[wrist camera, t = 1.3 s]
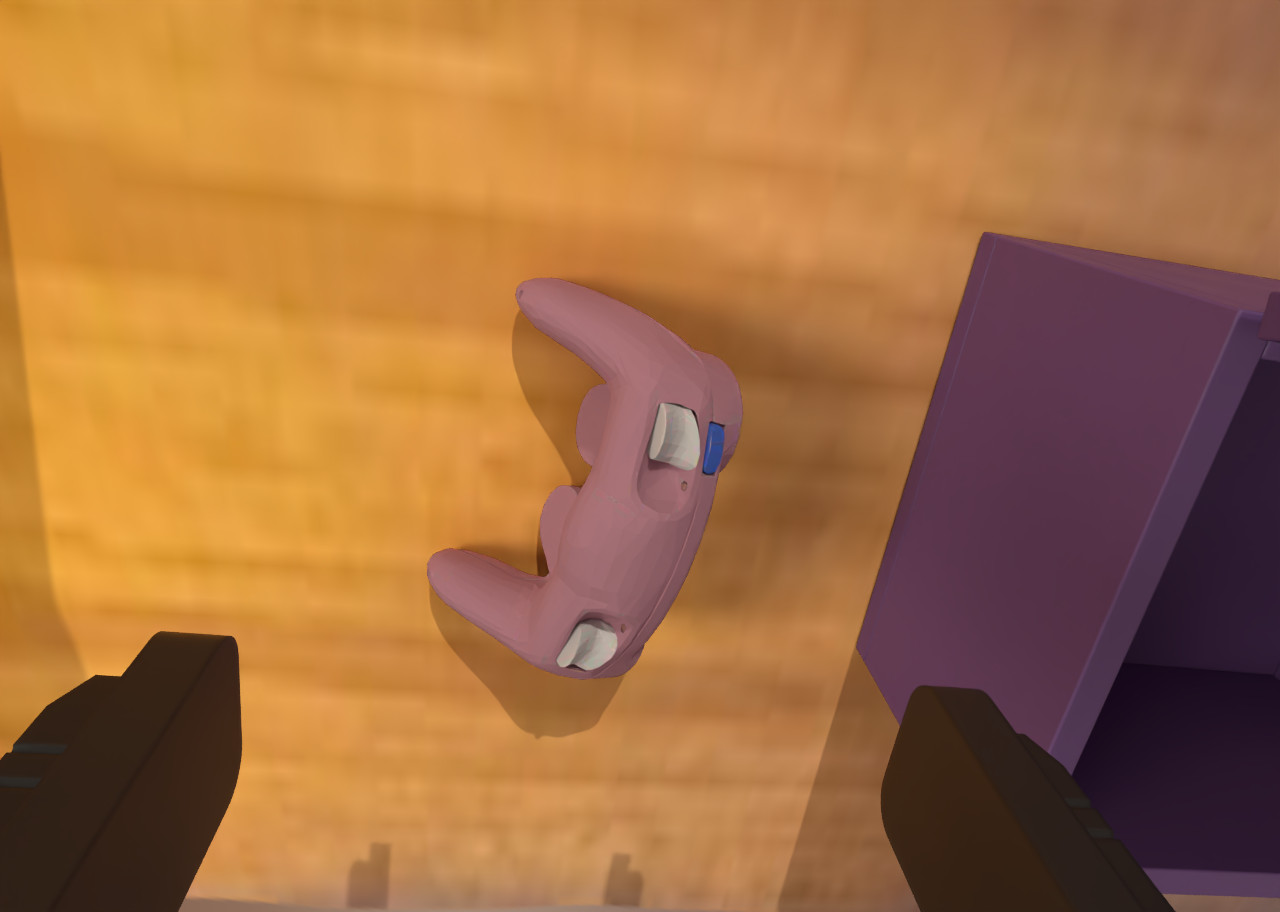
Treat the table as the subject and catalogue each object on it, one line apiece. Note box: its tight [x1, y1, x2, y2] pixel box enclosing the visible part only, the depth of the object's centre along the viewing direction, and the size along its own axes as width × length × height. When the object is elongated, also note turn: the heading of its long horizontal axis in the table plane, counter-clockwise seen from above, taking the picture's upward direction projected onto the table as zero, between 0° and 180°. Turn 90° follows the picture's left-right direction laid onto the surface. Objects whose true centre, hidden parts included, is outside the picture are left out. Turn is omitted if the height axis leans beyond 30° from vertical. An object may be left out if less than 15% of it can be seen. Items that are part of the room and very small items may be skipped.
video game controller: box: [427, 278, 743, 680], centre depth 22 cm, size 10×5×7 cm, turn 159°
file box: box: [856, 232, 1280, 898], centre depth 22 cm, size 14×16×9 cm
